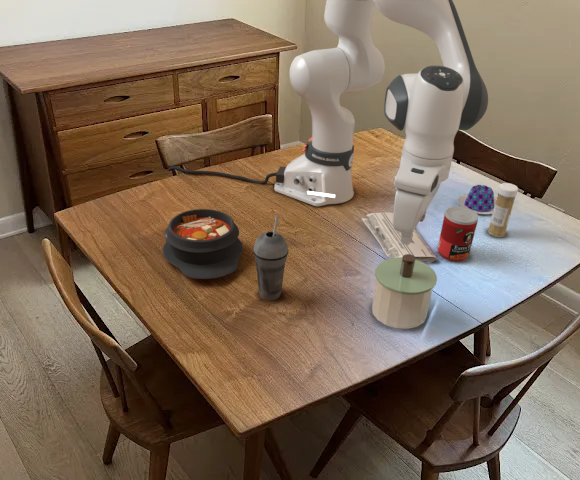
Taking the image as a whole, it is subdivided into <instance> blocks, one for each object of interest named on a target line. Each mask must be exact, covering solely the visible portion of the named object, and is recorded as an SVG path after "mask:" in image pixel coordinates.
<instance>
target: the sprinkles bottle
mask: <svg viewBox="0 0 580 480" xmlns="http://www.w3.org/2000/svg"><path fill="white" fill-rule="evenodd" d="M518 192H519V187H518V186H517V185H515V184H513V183H510V182H503V183H500V184H499V185H498V189H497V196H496V203H495V206H494V210H493V214H491V217H490V223H489V227H488V229H487V233H488V234H489V235H490V236H492V237H494V238H503V237H505V236H506V235H507V228H508V225H509V222H510V220H511V219H510V218H511V216H512V210H513V207H514V203H515V200H516V197H517V196H518Z"/></svg>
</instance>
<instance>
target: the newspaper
mask: <svg viewBox="0 0 580 480" xmlns="http://www.w3.org/2000/svg"><path fill="white" fill-rule="evenodd" d="M366 217H367V218H366ZM366 217H365V218H364V217H361V221H362V222H363V223H364V225H365V226H366V227H367V229H368V230H369V231H370V232H371V234H372V235H373V237H374V238H375V239H376V241H377V242H378V243H379V245H380V247H381V248H382V250H383V252H384V254H385V255H386V256H387V257H388V259H390V258H398V257H403V255H405V254H410V255H413V256H415V258H416V260H418V261H421V262H423V263H426V264H431V263H433V262H435V261H436V260H437V258H438V257H437V256H436V255H435V253H434V252H433V251H432V249H431V248H430V246H428V244H427V243H426V242H425V240H424V239H423V238H422V236H421V234H420V233H419V232H418V231H417V230H416V229H415V230H414V232H413V233H412V234H413V237H412V241H411V242H410V244H409V245H406V244H403V243H401V232H399V231H396V230H394V227H393V212H388V211H387V212H386V211H385V212H371V213H368V214H366Z"/></svg>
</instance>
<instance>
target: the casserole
mask: <svg viewBox="0 0 580 480" xmlns="http://www.w3.org/2000/svg"><path fill="white" fill-rule="evenodd" d="M239 236H240V228H239V226H238V225H237V224H236V223H235V221H234V219H233V217H231V216H230V215H229V214H227V213H225V212H223V211H220V210H216V209H212V208H211V209H209V208H198V209H197V208H196V209H190V210H185V211H183V212H181V213H178V214H176V215H175V216H173V217H172V218H171V219H170V220H169V222H168V225H167V227H166V229H165V230H164V239H165V241H166V242H165V243H164V244H163V246H162V255H163V258H164V259H165V260H166V261H167V262H168V263H170V264H171V265H173V266H175V267H176V268H177V269H178V270H179V271H180V272H181V273H182V274H183V275H184V276H185V277H188V278H191V279H197V280H209V279H216V278H221V277H225V276H227V275H230V274H233V273H234V272H235V271H236V270H237V269H238V267H239V260H240V258H241V256H242V254H243V252H244V246H243V242H242V240H241V239H240V238H239Z"/></svg>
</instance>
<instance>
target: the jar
mask: <svg viewBox="0 0 580 480" xmlns="http://www.w3.org/2000/svg"><path fill="white" fill-rule="evenodd" d="M433 289H434V288H433ZM433 289H431V290H430V291H428V292H426V293H423V294H417V295H407V294H400V293H396V292H393V291H391V290H389V289H387V288H385V287H384V286H382V285H381V284H380V283H379V282H378V280H377V279H376V278H375V284H374V290H373V296H372V302H371V303H372V304H371V310H372V311H371V312H372V314H373V316H374V317H375V319H376V320H377V321H379V322H380V323H382V324H383V325H385V326H388V327H390V328H394V329H401V330H409V329H413V328H417V327H419V326H420V325H422V324H423V323H425V321H426V319H427V317H428V312H429V308H430V303H431V298H432V294H433Z"/></svg>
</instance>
